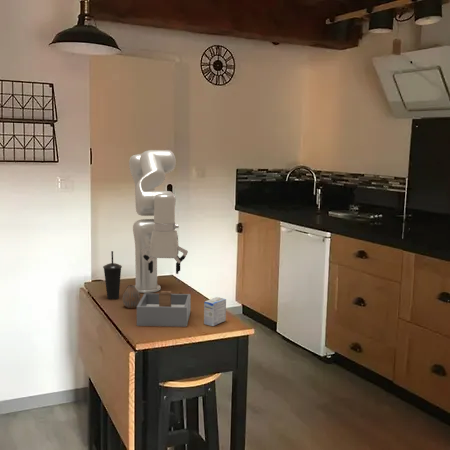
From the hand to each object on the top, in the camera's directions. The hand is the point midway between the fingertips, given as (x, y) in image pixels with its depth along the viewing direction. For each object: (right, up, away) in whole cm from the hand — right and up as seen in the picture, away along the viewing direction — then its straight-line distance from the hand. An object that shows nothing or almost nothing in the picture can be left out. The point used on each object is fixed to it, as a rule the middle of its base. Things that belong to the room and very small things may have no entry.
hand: (164, 272), depth 210 cm
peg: (0, -17, +2) cm, 18 cm away
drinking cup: (-25, -13, +28) cm, 40 cm away
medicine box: (+19, -19, -2) cm, 26 cm away
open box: (0, -17, +2) cm, 18 cm away
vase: (-15, -15, +16) cm, 27 cm away
